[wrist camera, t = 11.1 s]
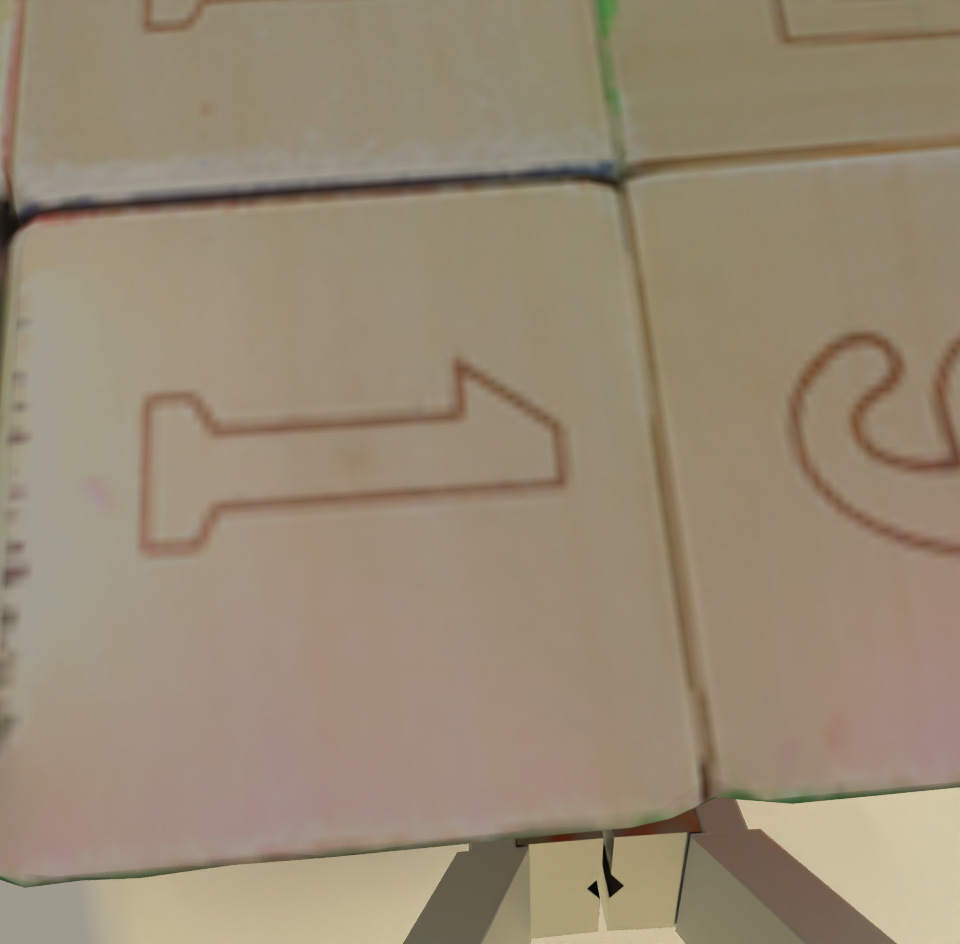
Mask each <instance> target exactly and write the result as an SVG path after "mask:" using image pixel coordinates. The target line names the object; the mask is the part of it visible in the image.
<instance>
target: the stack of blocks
mask: <svg viewBox="0 0 960 944" xmlns="http://www.w3.org/2000/svg"><path fill="white" fill-rule="evenodd" d="M956 787H960V0H0V880H3V881H6V882H9V883H12V884H15V885H18V886H22V887H25V888H26V887H33V886H41V885H49V884H56V883H64V882H72V881H80V880H101V879H125V878H143V877H150V876H157V875H164V874H171V873H178V872H185V871H192V870H200V869H207V868H214V867H221V866H228V865H237V864H250V863H263V862H275V861H288V860H300V859H313V858H326V857H337V856H347V855H357V854H367V853H377V852H387V851H397V850H407V849H417V848H427V847H437V846H447V845H457V844H467V843H477V842H488V841H498V840H508V839H518V838H529V837H539V836H549V835H559V834H570V833H580V832H590V831H601V830H611V829H622V828H632V827H636V826H640V825H645V824H649V823H654V822H658V821H662V820H667V819H671V818H673V817H675V816H678V815H680V814H682V813H684V812H686V811H688V810H691V809H693V808H695V807H697V806H699V805H702V804H704V803H706V802H708V801H710V800H713V799H715V798H729V799H741V800H754V801H767V802H779V803H792V804H793V803H803V802H813V801H824V800H834V799H845V798H855V797H866V796H876V795H886V794H896V793H906V792H916V791H926V790H936V789H946V788H956Z"/></svg>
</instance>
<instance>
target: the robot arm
mask: <svg viewBox="0 0 960 944" xmlns="http://www.w3.org/2000/svg"><path fill="white" fill-rule="evenodd" d="M597 883H598V886H597ZM598 888H599V891H598ZM599 893H600V896H599ZM600 897H601V902H602V907H603V912H604V917H605V922H606V926H607V931H609V930H628V929H648V928H667V927H676V932H677V933H678V935H679V936H680V937H681V938H682V939H683V941H684V942H685V943H686V944H896V943H895V942H894V941H893V940H892V939H891V938H889V937H888V936H887V935H886V934H885V933H883V932H882V931H881V930H880V929H879V928H877V927H876V926H875V925H874V924H873V923H871V922H870V921H869V920H868V919H867V918H866V917H864V916H863V915H862V914H861V913H860V912H858V911H857V910H856V909H855V908H854V907H852V906H851V905H850V904H849V903H848V902H846V901H845V900H844V899H843V898H842V897H840V896H839V895H838V894H837V893H836V892H835V891H833V890H832V889H831V888H830V887H829V886H827V885H826V884H825V883H824V882H823V881H821V880H820V879H819V878H818V877H817V876H815V875H814V874H813V873H812V872H811V871H810V870H808V869H807V868H806V867H805V866H804V865H802V864H801V863H800V862H799V861H798V860H796V859H795V858H794V857H793V856H792V855H790V854H789V853H788V852H787V851H786V850H785V849H783V848H782V847H781V846H780V845H779V844H777V843H776V842H775V841H774V840H773V839H771V838H770V837H769V836H768V835H767V834H765V833H764V832H763V831H762V830H761V829H749V830H748V828H747V825H746V823H745V820H744V818H743V815H742V813H741V811H740V808H739V806H738V803H737V801H736V799H729V798H715V799H713V800H710V801H708V802H706V803H704V804H702V805H699V806H697V807H695V808H693V809H691V810H688V811H686V812H684V813H682V814H680V815H678V816H675V817H673V818H671V819H667V820H662V821H658V822H654V823H649V824H645V825H640V826H636V827H632V828H622V829H611V830H601V831H590V832H580V833H570V834H559V835H549V836H539V837H529V838H518V839H508V840H498V841H488V842H477V843H469V851H465V852H457V854H456V856H455V857H454V859H453V861H452V862H451V864H450V866H449V867H448V869H447V871H446V872H445V874H444V876H443V877H442V879H441V881H440V883H439V884H438V886H437V888H436V889H435V891H434V893H433V894H432V896H431V898H430V899H429V901H428V903H427V904H426V906H425V908H424V909H423V911H422V913H421V914H420V916H419V918H418V919H417V921H416V923H415V924H414V926H413V928H412V929H411V931H410V933H409V934H408V936H407V938H406V940H405V941H404V943H403V944H531V939H532V938H542V937H551V936H560V935H569V934H578V933H587V932H596V931H598V919H599V906H600Z"/></svg>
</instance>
